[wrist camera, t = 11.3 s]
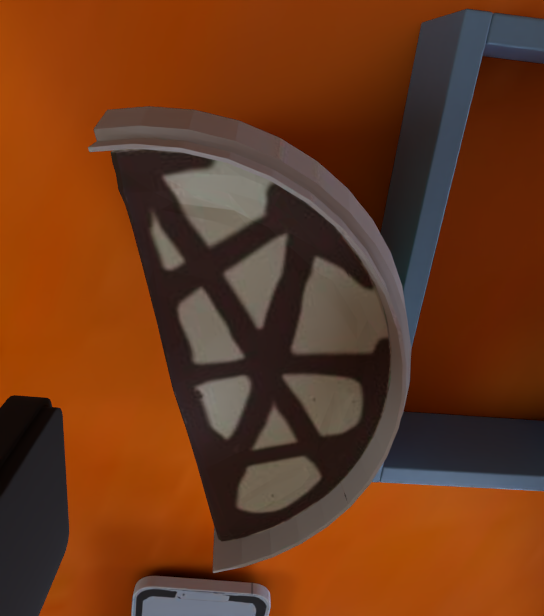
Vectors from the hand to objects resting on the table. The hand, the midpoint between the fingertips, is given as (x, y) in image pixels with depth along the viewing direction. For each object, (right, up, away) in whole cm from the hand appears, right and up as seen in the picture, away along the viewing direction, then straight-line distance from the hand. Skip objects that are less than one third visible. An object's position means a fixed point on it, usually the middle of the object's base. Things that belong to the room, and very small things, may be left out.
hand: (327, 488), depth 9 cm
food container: (-1, +6, +12) cm, 13 cm away
